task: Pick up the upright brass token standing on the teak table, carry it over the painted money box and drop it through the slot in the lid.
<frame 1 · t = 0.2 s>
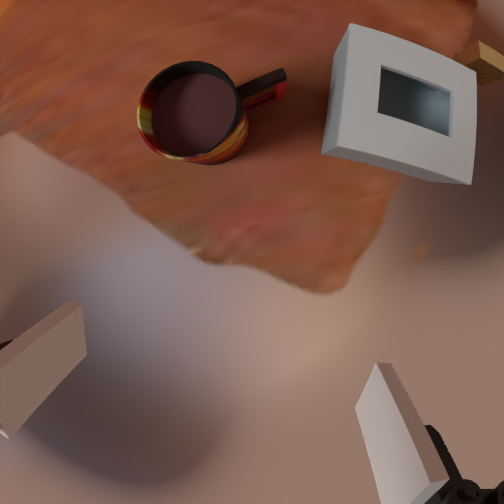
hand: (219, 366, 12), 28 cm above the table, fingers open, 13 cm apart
mug: (222, 116, 36), on the table
token: (468, 70, 30), on the table
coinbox: (386, 117, 34), on the table
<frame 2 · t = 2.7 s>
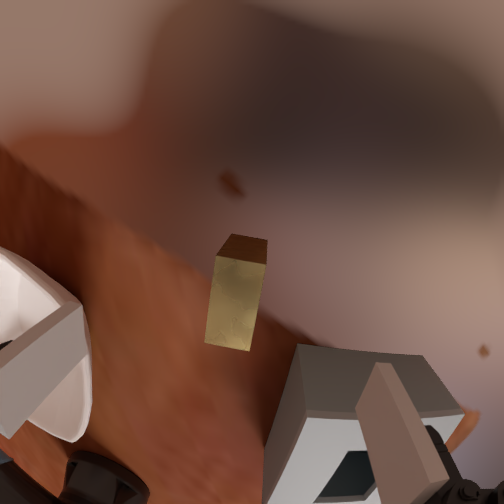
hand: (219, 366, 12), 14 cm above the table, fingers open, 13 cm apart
bowl: (52, 316, 29), on the table
token: (243, 271, 26), on the table
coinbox: (340, 410, 29), on the table
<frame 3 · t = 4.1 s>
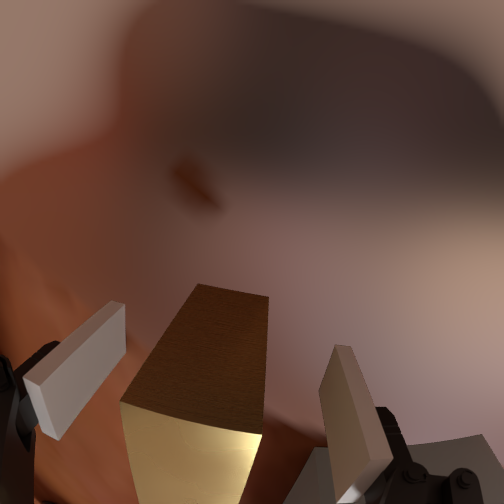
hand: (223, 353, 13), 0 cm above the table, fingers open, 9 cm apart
token: (223, 350, 13), on the table
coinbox: (365, 502, 16), on the table
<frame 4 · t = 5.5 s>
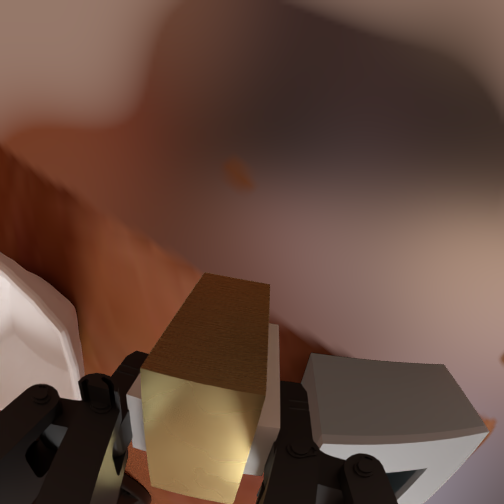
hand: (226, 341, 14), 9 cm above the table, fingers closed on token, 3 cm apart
bowl: (45, 318, 26), on the table
token: (227, 335, 14), point 9 cm above the table, touching gripper
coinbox: (355, 422, 26), on the table
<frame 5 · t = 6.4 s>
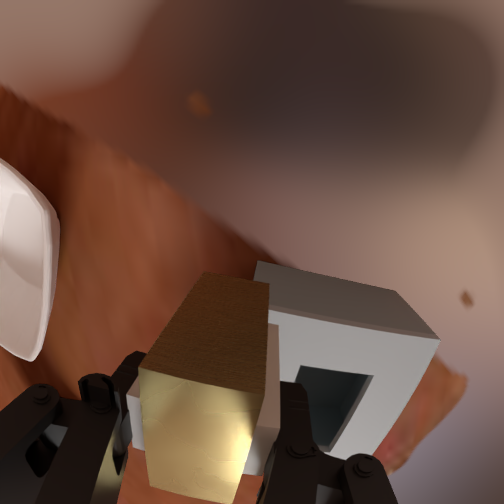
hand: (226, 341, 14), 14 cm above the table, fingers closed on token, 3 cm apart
bowl: (33, 239, 30), on the table
token: (227, 334, 14), point 14 cm above the table, touching gripper
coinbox: (307, 348, 30), on the table
when the fingers open (11 cm above the table, at t = 7.7 s): token drops 9 cm and tips over, resting on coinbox.
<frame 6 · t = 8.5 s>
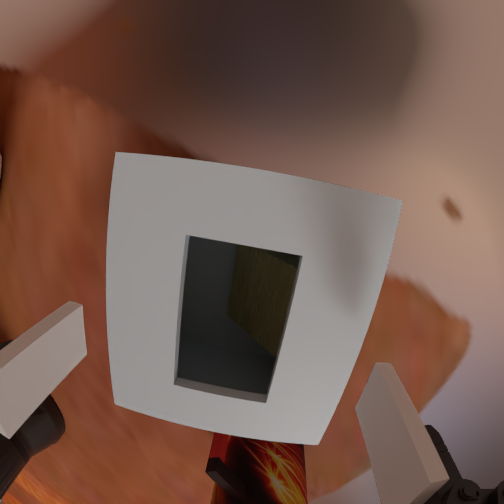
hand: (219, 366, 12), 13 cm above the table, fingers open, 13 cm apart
mug: (249, 441, 30), on the table
token: (248, 277, 23), point 2 cm above the table, tilted 39°, touching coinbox
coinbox: (246, 271, 25), on the table
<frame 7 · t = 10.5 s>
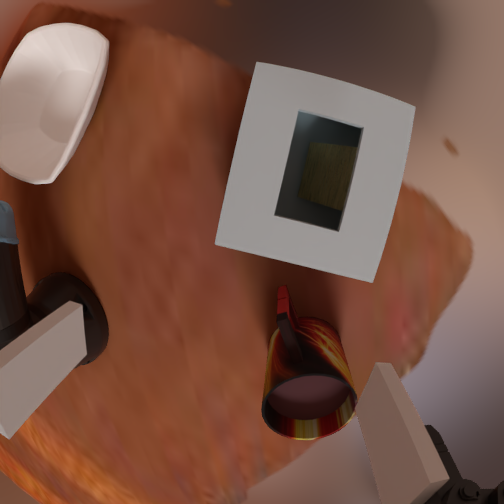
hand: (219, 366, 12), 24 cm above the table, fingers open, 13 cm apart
bowl: (72, 106, 33), on the table
mug: (294, 338, 38), on the table
token: (313, 172, 31), point 2 cm above the table, tilted 39°, touching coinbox
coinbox: (309, 172, 33), on the table
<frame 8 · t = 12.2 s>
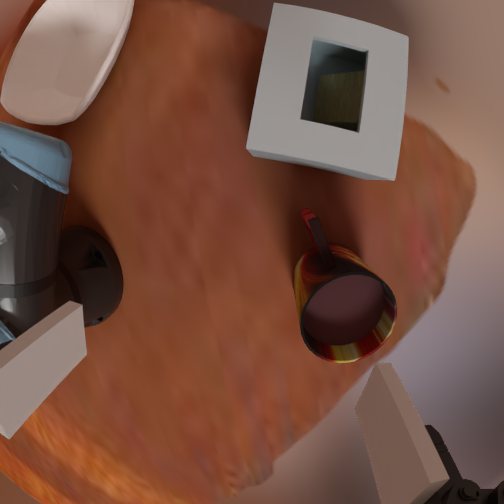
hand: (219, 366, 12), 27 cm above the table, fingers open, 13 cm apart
bowl: (88, 65, 33), on the table
mug: (317, 269, 38), on the table
token: (325, 102, 32), point 2 cm above the table, tilted 39°, touching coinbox
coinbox: (320, 105, 33), on the table
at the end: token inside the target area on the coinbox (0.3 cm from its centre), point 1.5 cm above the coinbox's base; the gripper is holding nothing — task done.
